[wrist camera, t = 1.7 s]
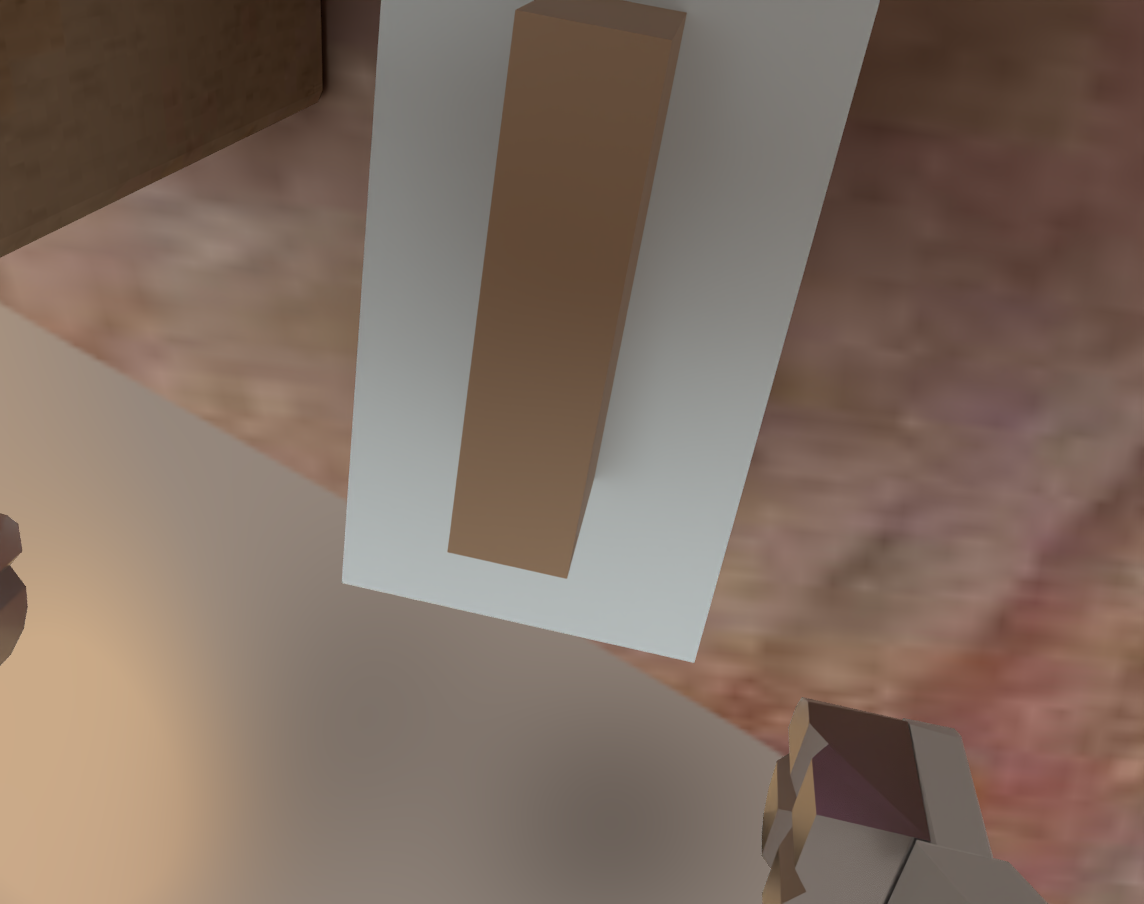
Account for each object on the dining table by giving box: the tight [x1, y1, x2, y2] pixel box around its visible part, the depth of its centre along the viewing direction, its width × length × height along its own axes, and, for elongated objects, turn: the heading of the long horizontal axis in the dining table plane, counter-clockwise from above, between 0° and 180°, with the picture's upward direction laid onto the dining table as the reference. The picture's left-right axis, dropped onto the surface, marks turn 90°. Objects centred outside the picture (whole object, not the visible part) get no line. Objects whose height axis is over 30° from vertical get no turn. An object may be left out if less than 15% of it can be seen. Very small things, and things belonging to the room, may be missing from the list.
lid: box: [342, 0, 880, 663], centre depth 21 cm, size 19×9×6 cm, turn 171°
